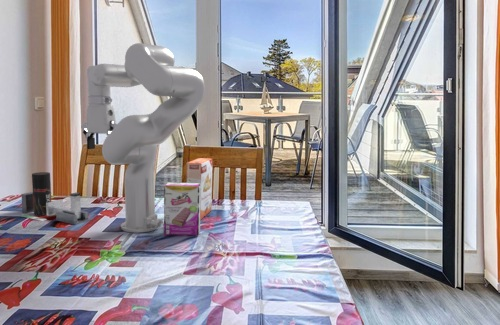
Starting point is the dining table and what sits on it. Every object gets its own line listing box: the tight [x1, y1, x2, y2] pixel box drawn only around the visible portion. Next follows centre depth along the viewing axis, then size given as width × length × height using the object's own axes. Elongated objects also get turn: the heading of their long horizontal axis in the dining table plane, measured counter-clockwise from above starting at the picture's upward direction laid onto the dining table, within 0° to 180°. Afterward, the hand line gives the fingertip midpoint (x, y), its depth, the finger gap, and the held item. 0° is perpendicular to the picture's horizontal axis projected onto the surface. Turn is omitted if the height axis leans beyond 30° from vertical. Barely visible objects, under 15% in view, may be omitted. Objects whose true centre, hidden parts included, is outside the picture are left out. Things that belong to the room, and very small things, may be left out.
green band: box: [20, 213, 36, 220], centre depth 154 cm, size 6×13×1 cm, turn 152°
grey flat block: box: [20, 191, 34, 214], centre depth 156 cm, size 2×6×7 cm, turn 152°
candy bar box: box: [163, 182, 201, 237], centre depth 133 cm, size 11×5×16 cm, turn 92°
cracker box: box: [186, 157, 214, 221], centre depth 155 cm, size 14×6×21 cm, turn 168°
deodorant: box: [31, 171, 52, 217], centre depth 153 cm, size 6×6×15 cm
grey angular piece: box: [46, 192, 82, 219], centre depth 147 cm, size 13×6×9 cm, turn 62°
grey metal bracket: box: [55, 210, 92, 226], centre depth 146 cm, size 10×6×3 cm, turn 62°
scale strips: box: [31, 216, 48, 222], centre depth 151 cm, size 6×13×1 cm, turn 152°
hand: (101, 149), depth 150 cm, fingers open, 9 cm apart
